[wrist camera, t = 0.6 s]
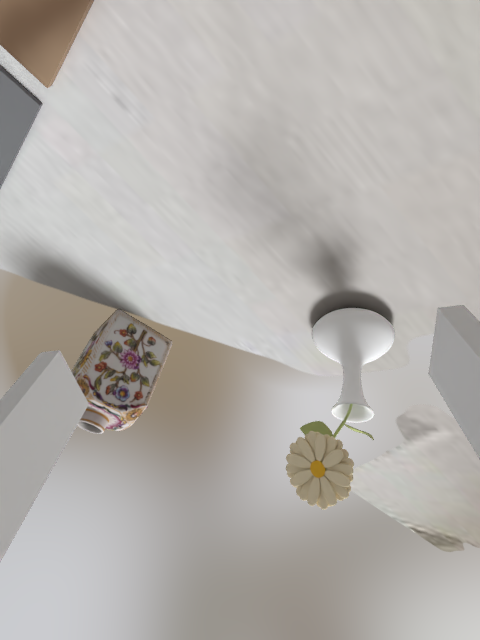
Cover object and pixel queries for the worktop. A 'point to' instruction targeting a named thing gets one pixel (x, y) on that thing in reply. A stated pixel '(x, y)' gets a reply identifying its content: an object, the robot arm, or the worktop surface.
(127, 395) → the decorative jar
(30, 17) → the board
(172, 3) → the worktop surface
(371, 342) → the flower in vase
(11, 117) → the mat
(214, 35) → the worktop surface
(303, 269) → the worktop surface
